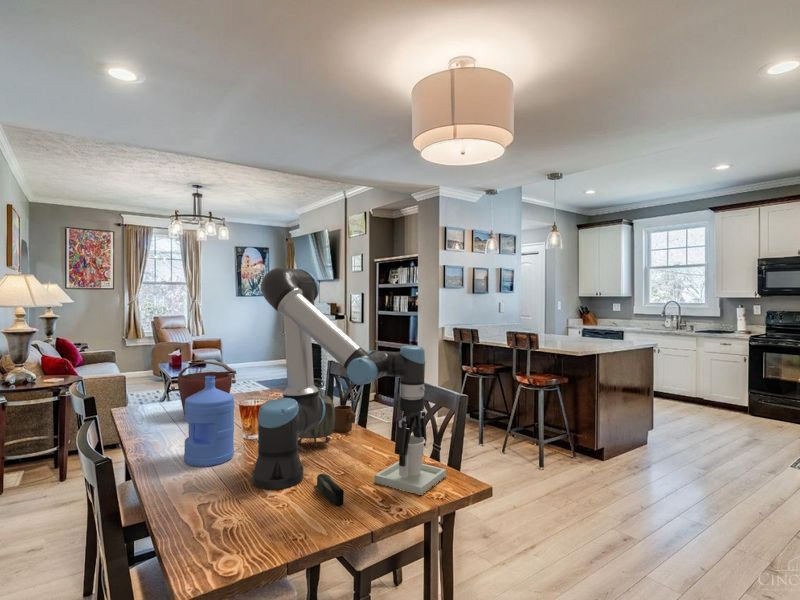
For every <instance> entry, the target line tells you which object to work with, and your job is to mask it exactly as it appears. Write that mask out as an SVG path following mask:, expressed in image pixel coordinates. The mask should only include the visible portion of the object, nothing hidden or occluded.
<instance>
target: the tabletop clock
mask: <svg viewBox="0 0 800 600" xmlns="http://www.w3.org/2000/svg"><path fill="white" fill-rule="evenodd" d="M313 381H319V382H321V383H322V385H321V386H319V387H317V386H316V385H314V386H315V387H316V388H318V390H321V389H322V388H324V386H325V381H324V380H323V379H322V378H319V377H318V378H315V377H313ZM319 396H320V397H321V399H323V401H324V403H325V415H324V418H323V420H322V421H321V423H320V424H319V425H317V426H316V427H315V428H314V429H312V430H309V431H307V432H306V433H304V434H302V435H300V436H298V438H299V439H298V445H301V444H302V440H303V439H309V440H310V439H311V440H312V439H313V442H314V443H313V444H312V447H314V448H317V447H318V443H317V439H321V438H325V441H326V442H327V443H328V442H330V440H331V439H330V436H331V435H333V433H334V431H335V430H334V426H335V404H334V402H333V400H332V398H331V397H330V396H328V395H324V394H322V393H321V391H319Z"/></svg>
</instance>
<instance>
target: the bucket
mask: <svg viewBox="0 0 800 600" xmlns="http://www.w3.org/2000/svg"><path fill="white" fill-rule="evenodd" d="M201 364H206V365H207V364H208V365H215V366H219V367H222V368H223V369H224V370H226V371H228V372H224V371H223V372H222V371H221V372H219V371H204V372H196V373H194V372H193V373H192V372H191V373H186V374H184V373H185V372H186V371H187V370H188V369H190V368H192V367H194V366H197V365H201ZM231 372H232V373H231ZM235 375H236V372H235V370H234V369H233V368H232V367H229V366H228V365H227V364H225V363H221V362H216V361H199V362H196V363H193V364H190V365H188V366H186V367H185V368H182V370H180V372H179V373H178V376H177V388H178V392H179V396H180V401H181V407H182V411H183V415H184V417H185V412H184V406H185V400H186V398H188V397H189V396H191V395H193V394H195V393H197V392H199V391H201V390H203V389H204V388H205V381H206V379H205V377H206V376H215V388H216V389H219V390H221V391H224V392H227V393H229V394H231V387H232V383H233V382H232V381H233V380H232V379H233V378H234V376H235Z"/></svg>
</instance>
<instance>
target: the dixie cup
mask: <svg viewBox="0 0 800 600" xmlns="http://www.w3.org/2000/svg"><path fill="white" fill-rule="evenodd" d="M424 443H426V442H425V439H424V438H422V437H420V438H417V437H415V436H414V435H413V434H411V436H410V441H409V444H408V450H407V455H408V476H416V475H419V474H420V471H421V463H422V464H423V456H424V455H423V454H424V450H425V449H424V448H425V446H424Z"/></svg>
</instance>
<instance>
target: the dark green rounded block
mask: <svg viewBox="0 0 800 600" xmlns="http://www.w3.org/2000/svg"><path fill="white" fill-rule="evenodd" d="M316 484H317V485H316ZM316 484H313V485H314V486H313V487H314V488H315V489H316V490H317V491H319V492H320V494H321V495H322V496H323V497H324V498H325V499H326V500H327V501H328V502H329V504H331V505H332V506H333V505H334V506H333V507H336V506H339V507H343V506H344V501H345V499H344V498H345V497H344V494H345V492H344V489H343V488H342V487H340V485H338V484H337V482H335V481H334V480H333V479H332V477H330V475H328V474H326V473H320V474H318V475H317V476H316ZM342 505H343V506H342Z"/></svg>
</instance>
